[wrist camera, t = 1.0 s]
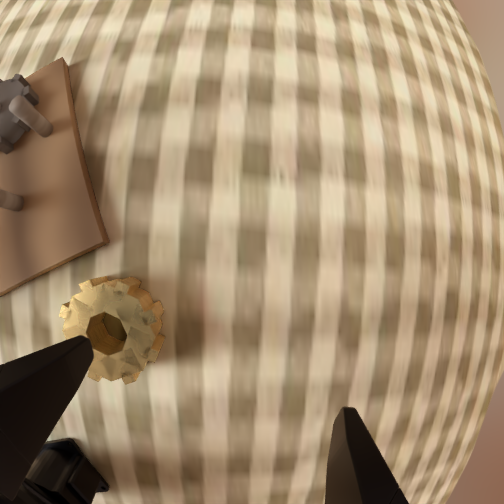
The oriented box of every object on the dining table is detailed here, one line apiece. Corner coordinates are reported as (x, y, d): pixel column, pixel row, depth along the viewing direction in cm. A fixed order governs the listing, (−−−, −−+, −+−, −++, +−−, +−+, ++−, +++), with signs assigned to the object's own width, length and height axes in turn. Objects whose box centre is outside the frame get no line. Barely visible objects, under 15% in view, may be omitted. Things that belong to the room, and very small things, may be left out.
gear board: (-3, 297, 18) (-51, 308, 11) (-29, 128, 17) (-65, 105, 10) (109, 242, 20) (72, 237, 13) (67, 65, 19) (41, 23, 12)
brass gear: (103, 376, 19) (88, 395, 16) (65, 294, 19) (43, 300, 15) (181, 349, 20) (178, 366, 17) (143, 260, 20) (132, 261, 16)
